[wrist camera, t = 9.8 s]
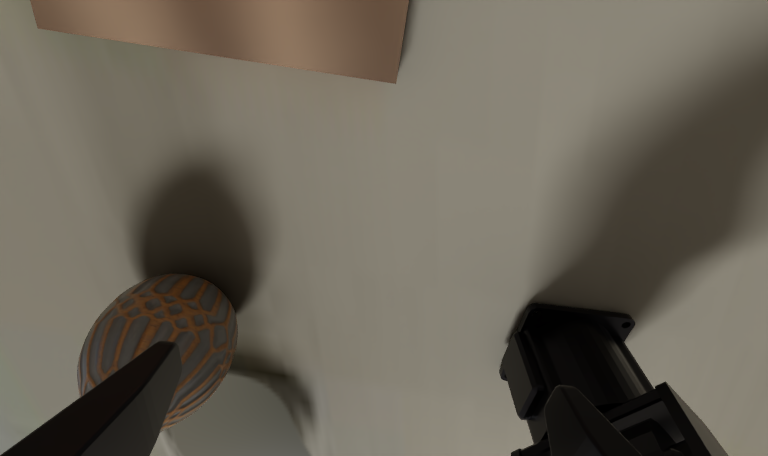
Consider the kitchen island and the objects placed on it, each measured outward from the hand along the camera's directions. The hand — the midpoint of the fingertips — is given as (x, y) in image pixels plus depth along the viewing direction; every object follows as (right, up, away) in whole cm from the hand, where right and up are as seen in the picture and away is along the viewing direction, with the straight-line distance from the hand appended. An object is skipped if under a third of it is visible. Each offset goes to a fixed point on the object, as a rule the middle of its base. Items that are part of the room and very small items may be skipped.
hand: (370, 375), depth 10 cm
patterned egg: (-11, -1, +15) cm, 19 cm away
